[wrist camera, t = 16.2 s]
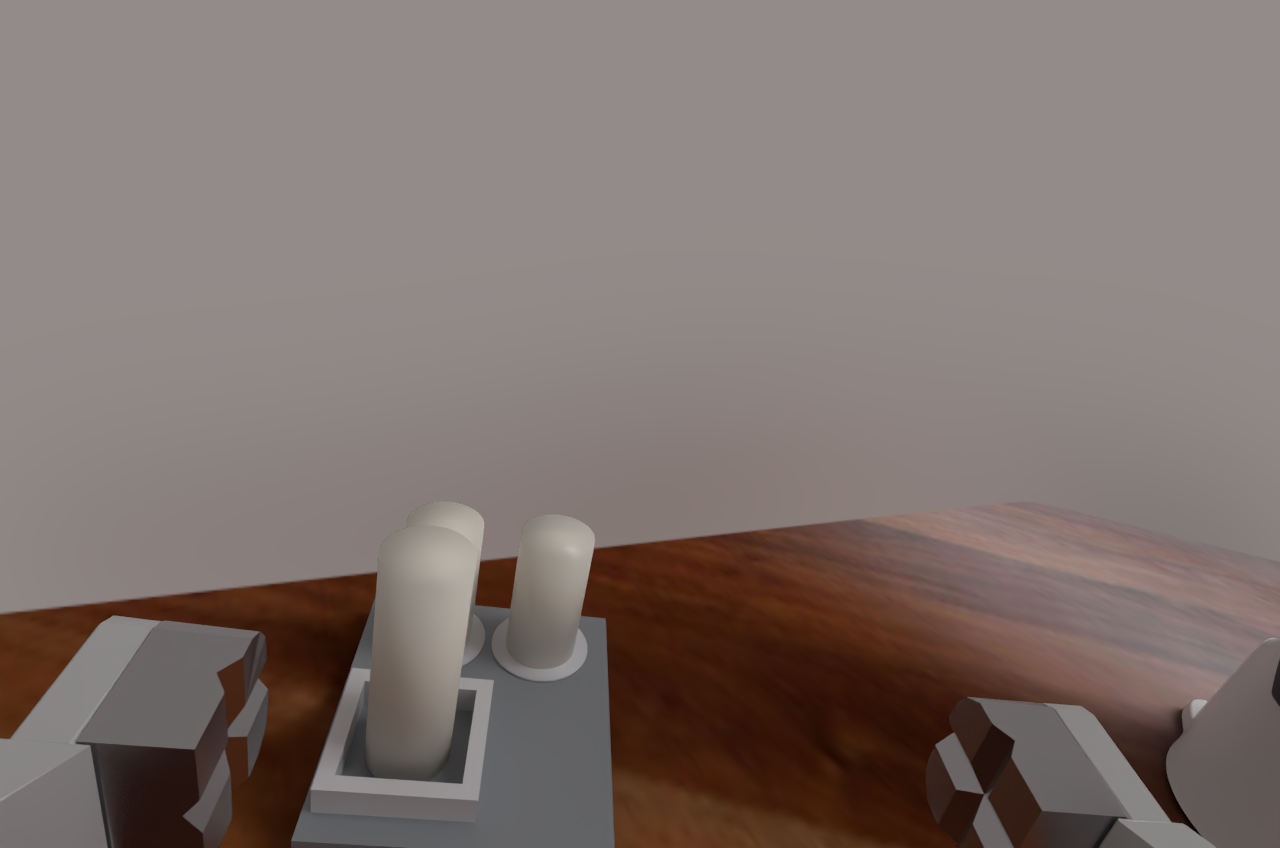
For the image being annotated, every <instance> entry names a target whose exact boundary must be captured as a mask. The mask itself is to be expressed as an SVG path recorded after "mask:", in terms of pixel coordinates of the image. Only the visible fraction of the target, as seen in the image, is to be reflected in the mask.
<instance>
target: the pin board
mask: <svg viewBox="0 0 1280 848" xmlns="http://www.w3.org/2000/svg"><path fill="white" fill-rule="evenodd" d="M414 526H438V527H444V528H448V529H451V530H454V531H456V532H458V533H460V534H462V535H463V536H465V537H466V538H467V539H469V540H470V541H471V543H472V544H473V545H474V547H475V549H476V553H477V560H476V568H475V575H474V582H473V589H472V596H471V604H470V611H469V618H468V625H467V632H466V640H465V647H464V654H463V661H462V668H461V676H460V683H459V690H458V697H457V704H456V712H455V719H454V726H453V733H452V740H451V748H450V755H449V759H448V761H447V763H446V765H445V767H444V768H443V769H442V771H441V772H440V773H439V774H438V775H437V776H435V777H434V778H432V779H431V780H429V781H427V782H426V781H412V780H397V779H383V778H376V777H375V776H373V775H372V774H371V772H370V771H369V769H368V767H367V765H366V762H365V741H366V727H367V713H368V699H369V685H370V671H371V657H372V643H373V629H374V615H375V601H376V597H375V600H374V603H373V605H372V608H371V611H370V614H369V617H368V620H367V623H366V626H365V629H364V631H363V634H362V637H361V640H360V643H359V646H358V649H357V652H356V655H355V658H354V660H353V663H352V666H351V669H350V672H349V675H348V678H347V681H346V684H345V686H344V689H343V692H342V695H341V698H340V701H339V704H338V707H337V710H336V712H335V715H334V718H333V721H332V724H331V727H330V730H329V733H328V736H327V739H326V741H325V744H324V747H323V750H322V753H321V756H320V759H319V762H318V765H317V767H316V770H315V773H314V776H313V779H312V782H311V785H310V788H309V791H308V793H307V796H306V799H305V802H304V805H303V808H302V811H301V814H300V817H299V820H298V822H297V825H296V828H295V831H294V834H293V837H292V840H291V848H615V845H614V819H613V794H612V768H611V742H610V716H609V690H608V664H607V638H606V619H605V618H595V617H585V616H581V611H582V606H583V601H584V596H585V590H586V585H587V580H588V575H589V570H590V565H591V560H592V555H593V550H594V544H595V536H594V534H593V532H592V530H591V529H590V528H589V527H588V526H587V525H586V524H584V523H583V522H581V521H579V520H577V519H575V518H572V517H569V516H564V515H557V514H548V515H541V516H537V517H534V518H532V519H530V520H529V521H527V522H526V523H525V525H524V526H523V528H522V532H521V539H520V546H519V553H518V560H517V567H516V574H515V580H514V587H513V594H512V601H511V608H510V609H506V608H496V607H486V606H476V605H475V600H476V591H477V583H478V574H479V566H480V557H481V548H482V541H483V532H484V521H483V518H482V516H481V515H480V514H479V513H478V512H477V511H476V510H474V509H472V508H470V507H468V506H466V505H463V504H460V503H455V502H432V503H428V504H424V505H422V506H420V507H418V508H416V509H415V510H413V511H412V512H411V513H410V515H409V516H408V519H407V528H409V527H414Z"/></svg>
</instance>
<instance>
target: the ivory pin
mask: <svg viewBox="0 0 1280 848" xmlns="http://www.w3.org/2000/svg"><path fill="white" fill-rule="evenodd" d="M476 560H477V553H476V549H475V547H474V545H473V544H472V543H471V541H470V540H469V539H467V538H466V537H465V536H463V535H462V534H460V533H458V532H456V531H454V530H451V529H448V528H444V527H438V526H414V527H409V528H405V529H402V530H399V531H397V532H395V533H393V534H391V535H390V536H389V537H387V538H386V539H385V540H384V542H383V543H382V544H381V547H380V550H379V559H378V573H377V587H376V601H375V615H374V629H373V643H372V657H371V671H370V685H369V699H368V713H367V727H366V741H365V762H366V765H367V767H368V769H369V771H370V772H371V774H372V775H373V776H375V777H376V778H383V779H397V780H412V781H426V782H427V781H429V780H431V779H432V778H434V777H435V776H437V775H438V774H439V773H440V772H441V771H442V769H443V768H444V767H445V765H446V763H447V761H448V759H449V755H450V748H451V740H452V733H453V726H454V719H455V712H456V704H457V697H458V690H459V683H460V676H461V668H462V661H463V654H464V647H465V640H466V632H467V625H468V618H469V611H470V604H471V596H472V589H473V582H474V575H475V568H476Z"/></svg>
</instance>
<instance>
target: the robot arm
mask: <svg viewBox="0 0 1280 848" xmlns="http://www.w3.org/2000/svg"><path fill="white" fill-rule="evenodd" d="M266 660H267V650H266V636H265V635H264V634H262V633H261V632H258V631H250V630H241V629H233V628H224V627H216V626H207V625H198V624H190V623H181V622H173V621H163V622H162V621H154V620H146V619H138V618H130V617H122V616H112V617H110V618H109V619H107V620H105V621H104V622H102V623H101V624H99V625H98V626H97V627H96V629H95V630H94V631H93V633H92V634H91V635H90V636H89V638H88V639H87V640H86V642H85V643H84V644H83V645H82V647H81V648H80V649H79V651H78V652H77V653H76V654H75V656H74V657H73V658H72V660H71V661H70V662H69V663H68V665H67V666H66V667H65V669H64V670H63V671H62V672H61V674H60V675H59V676H58V678H57V679H56V680H55V681H54V683H53V684H52V685H51V687H50V688H49V689H48V690H47V692H46V693H45V694H44V696H43V697H42V698H41V699H40V701H39V702H38V703H37V705H36V706H35V707H34V708H33V710H32V711H31V712H30V714H29V715H28V716H27V717H26V719H25V720H24V721H23V723H22V724H21V725H20V726H19V728H18V729H17V730H16V732H15V733H14V734H13V735H12V737H11V738H10V739H0V848H219V846H220V844H221V842H222V839H223V837H224V835H225V832H226V830H227V828H228V826H229V823H230V821H231V819H232V796H231V791H233V790H234V789H235V788H237V787H238V786H239V785H241V784H242V783H243V782H245V781H246V780H247V779H249V776H250V774H251V771H252V769H253V767H254V764H255V762H256V759H257V757H258V754H259V750H260V747H261V743H262V739H263V735H264V732H265V728H266V721H267V712H268V689H267V688H266V686H265V685H264V684H263V683H262V682H261V681H260V680H259V679H258V677H259V675H260V673H261V671H262V669H263V667H264V664H265V662H266ZM948 720H949V722H950V725H951V728H952V730H953V733H952V734H951V735H949V736H948V737H946V738H945V739H943V740H942V741H940V742H939V743H937V744H936V745H935V747H934V749H933V751H932V753H931V756H930V758H929V760H928V763H927V768H926V792H927V797H928V802H929V806H930V809H931V811H932V813H933V816H934V818H935V821H936V823H937V825H938V826H939V827H940V828H941V829H942V830H943V831H944V832H945V833H946V834H947V835H948V836H949V837H950V838H952V839H953V840H954V841H955V842H956V843H957V846H956V848H1280V638H1276V639H1275V638H1270V639H1267V640H1265V641H1263V642H1262V643H1261V644H1260V645H1259V646H1258V647H1257V648H1256V649H1255V650H1254V651H1253V652H1252V653H1251V654H1250V655H1249V656H1248V657H1247V659H1246V660H1245V661H1244V662H1243V663H1242V664H1241V665H1240V666H1239V667H1238V668H1237V670H1236V671H1235V672H1234V673H1233V674H1232V675H1231V676H1230V677H1229V678H1228V679H1227V681H1226V682H1225V683H1224V684H1223V685H1222V686H1221V687H1220V688H1219V690H1218V691H1217V692H1216V693H1215V694H1214V695H1213V696H1212V697H1211V699H1210V700H1209V701H1205V700H1200V699H1195V700H1192V701H1191V702H1190V703H1189V704H1188V705H1187V706H1186V707H1185V708H1184V709H1183V711H1182V724H1183V733H1182V735H1181V736H1180V737H1179V738H1178V739H1177V740H1176V741H1175V742H1174V743H1173V744H1172V746H1171V747H1170V749H1169V751H1168V754H1167V758H1166V770H1167V776H1168V780H1169V783H1170V786H1171V788H1172V791H1173V793H1174V795H1175V797H1176V799H1177V801H1178V803H1179V805H1180V806H1181V808H1182V810H1183V811H1184V813H1185V814H1186V816H1187V817H1188V819H1189V820H1190V822H1191V823H1192V824H1193V826H1194V827H1195V828H1196V829H1197V831H1198V832H1199V833H1200V834H1201V836H1202V837H1201V836H1200V835H1199V834H1197V833H1196V832H1195V831H1193V830H1192V829H1190V828H1189V827H1188V826H1186V825H1185V824H1182V823H1172V822H1171V821H1170V819H1169V818H1168V817H1167V815H1166V814H1165V812H1164V811H1163V810H1162V808H1161V807H1160V806H1159V804H1158V803H1157V801H1156V800H1155V799H1154V797H1153V796H1152V795H1151V793H1150V792H1149V790H1148V789H1147V788H1146V786H1145V785H1144V783H1143V782H1142V781H1141V779H1140V778H1139V777H1138V775H1137V774H1136V772H1135V771H1134V770H1133V768H1132V767H1131V766H1130V764H1129V763H1128V761H1127V760H1126V759H1125V757H1124V756H1123V754H1122V753H1121V752H1120V750H1119V749H1118V748H1117V746H1116V745H1115V743H1114V742H1113V741H1112V739H1111V738H1110V737H1109V735H1108V734H1107V732H1106V731H1105V730H1104V728H1103V727H1102V726H1101V724H1100V723H1099V721H1098V720H1097V719H1096V717H1095V716H1094V715H1093V714H1092V713H1090V712H1089V711H1088V710H1086V709H1085V708H1083V707H1082V706H1074V705H1061V704H1049V703H1042V704H1039V703H1034V702H1022V701H1010V700H998V699H986V698H973V697H965V698H964V699H962V700H961V701H960V702H958V703H957V704H956V705H955V707H954V709H953V711H952V713H951V715H950V717H949V719H948Z"/></svg>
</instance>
